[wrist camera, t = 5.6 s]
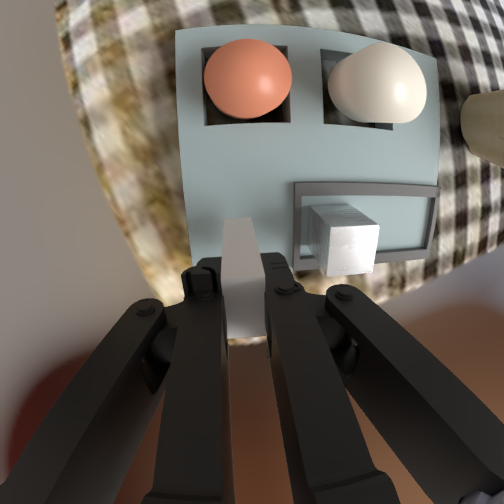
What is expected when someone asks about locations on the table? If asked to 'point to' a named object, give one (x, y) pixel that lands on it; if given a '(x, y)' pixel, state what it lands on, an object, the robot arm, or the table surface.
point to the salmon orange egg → (247, 78)
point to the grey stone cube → (342, 239)
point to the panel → (303, 154)
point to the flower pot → (484, 125)
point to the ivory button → (378, 85)
